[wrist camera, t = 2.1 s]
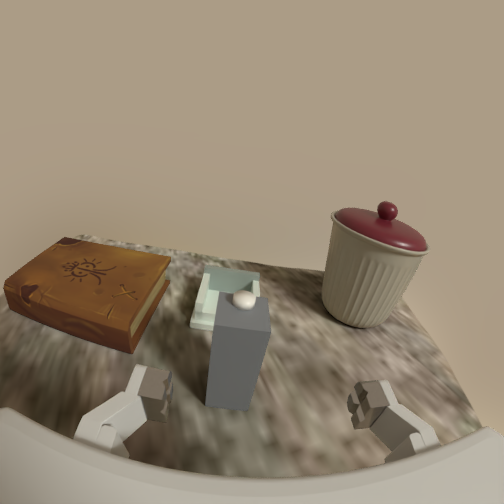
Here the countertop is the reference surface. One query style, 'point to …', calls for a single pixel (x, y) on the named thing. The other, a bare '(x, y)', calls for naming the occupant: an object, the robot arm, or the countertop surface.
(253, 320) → the grey block with knob
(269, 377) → the countertop surface
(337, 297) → the canister
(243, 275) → the pocket
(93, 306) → the diary
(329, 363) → the countertop surface
